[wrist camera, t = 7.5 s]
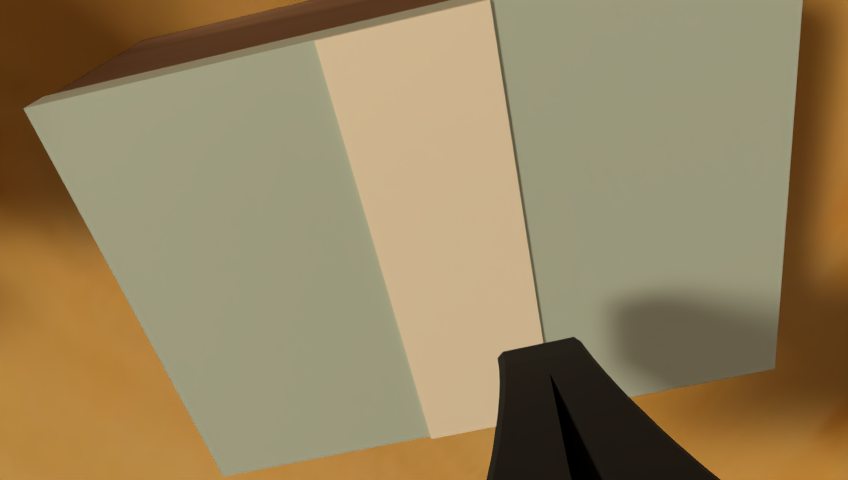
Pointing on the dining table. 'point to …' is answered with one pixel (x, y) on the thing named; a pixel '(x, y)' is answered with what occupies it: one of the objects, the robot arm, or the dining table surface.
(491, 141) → the lid
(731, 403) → the dining table surface
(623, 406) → the robot arm
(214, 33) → the walnut box
